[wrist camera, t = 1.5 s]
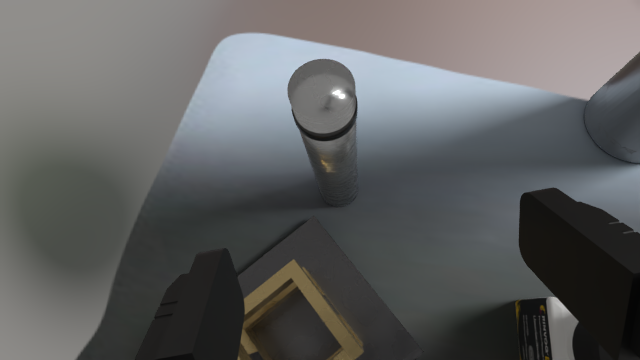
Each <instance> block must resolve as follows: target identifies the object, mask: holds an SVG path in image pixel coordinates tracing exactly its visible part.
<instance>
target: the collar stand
mask: <svg viewBox="0 0 640 360" xmlns="http://www.w3.org/2000/svg"><path fill="white" fill-rule="evenodd" d="M237 278H238V281H239V284H240V287H241V290H242V293H243V298H244V305H245V316H244V323H243V329H242V335H241V341H240V347H239V354H238V360H415V359H416V358H417V357H419V356H420V355H421V354H422V353H423V352H424V351H423V350H422V349H421V348H420V346H419V345H418V344H417V343H416V342H415V340H414V339H413V338H412V337H411V335H410V334H409V333H408V332H407V330H406V329H405V328H404V327H403V325H402V324H401V323H400V322H399V320H398V319H397V318H396V317H395V316H394V314H393V313H392V312H391V311H390V309H389V308H388V307H387V306H386V304H385V303H384V302H383V301H382V299H381V298H380V297H379V296H378V295H377V293H376V292H375V291H374V290H373V288H372V287H371V286H370V285H369V283H368V282H367V281H366V280H365V278H364V277H363V276H362V275H361V273H360V272H359V271H358V270H357V269H356V267H355V266H354V265H353V264H352V262H351V261H350V260H349V259H348V257H347V256H346V255H345V254H344V252H343V251H342V250H341V249H340V248H339V246H338V245H337V244H336V243H335V241H334V240H333V239H332V238H331V236H330V235H329V234H328V233H327V231H326V230H325V229H324V228H323V226H322V225H321V224H320V223H319V222H318V220H317V219H316V218H315V217H314V216H313V217H312V218H310V219H309V220H308V221H307V222H305V223H304V224H303V225H302V226H300V227H299V228H298V229H297V230H295V231H294V232H293V233H292V234H290V235H289V236H288V237H286V238H285V239H284V240H283V241H281V242H280V243H279V244H278V245H276V246H275V247H274V248H273V249H271V250H270V251H269V252H268V253H266V254H265V255H264V256H262V257H261V258H260V259H259V260H257V261H256V262H255V263H254V264H252V265H251V266H250V267H249V268H247V269H246V270H245V271H244V272H242V273H241V274H240V275H238V276H237Z"/></svg>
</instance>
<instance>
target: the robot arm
mask: <svg viewBox="0 0 640 360" xmlns="http://www.w3.org/2000/svg"><path fill="white" fill-rule="evenodd" d="M584 118H585V125H586V128H587V130H588V132H589V134H590V136H591V137H592V139H593V140H594V142H595V143H596V144H597V145H598V146H599V147H600V148H601V149H603V150H604V151H606V152H607V153H608V154H610V155H612V156H614V157H616V158H618V159H621V160H624V161H628V162H633V163H640V52H639V53H638V54H637V55H636V56H635V57H634V58H633V59H632V60H630V61H629V62H628V63H627V64H626V65H625V66H624V67H623V68H622V69H621V70H620V71H619V72H617V73H616V74H615V75H614V76H613V77H612V78H611V79H610V80H609V81H608V82H607V83H606V84H604V85H603V86H602V87H601V88H600V89H599V90H598V91H597V92H596V93H595V94H594V95H593V96H592V97H591V98H590V100H589V101H588V103H587V106H586V108H585V115H584ZM519 248H520V252H521V255H522V258H523V260H524V261H525V263H526V264H527V266H528V267H529V268H530V269H531V270H532V271H533V272H534V273H535V275H536V276H537V277H538V278H539V279H540V280H541V281H542V282H543V283H544V284H545V285H546V286H547V288H548V289H549V290H550V291H551V292H552V293H553V294H554V295H555V296H556V297H557V298H558V300H559V301H560V302H561V303H562V304H563V305H564V306H565V307H566V308H567V309H568V310H569V312H570V313H571V314H572V315H573V316H574V317H575V318H576V319H577V320H578V321H579V322H580V324H581V325H582V326H583V327H584V328H585V329H586V330H587V331H588V332H589V333H590V334H591V336H592V337H593V338H594V339H595V340H596V341H597V342H598V343H599V344H600V345H601V346H602V348H603V349H604V350H605V351H606V352H607V353H608V354H609V355H610V356H611V357H612V358H613V360H640V234H639V233H638V232H634V231H633V229H632V228H630V227H629V226H627V225H625V224H624V223H620V222H619V220H618V219H616V218H615V217H613V216H611V215H610V214H608V213H607V212H605V211H604V210H602V209H599V208H596V207H594V206H591V205H588V204H585V203H582V202H576V201H575V200H573V199H572V198H570V197H569V196H567V195H566V194H564V193H563V192H561V191H560V190H559V189H557V188H548V189H542V190H537V191H532V192H526V193H524V194H523V195H522V196H521V199H520V219H519ZM244 316H245V305H244V298H243V293H242V290H241V287H240V284H239V281H238V278H237V275H236V271H235V268H234V265H233V262H232V259H231V256H230V253H229V251H228V250H227V249H226V248H222V249H217V250H211V251H206V252H200V253H198V254H197V255H196V257H195V260H194V262H193V265H192V267H191V270H190V272H189V273H188V274H183V275H180V276H179V277H178V278H177V279H176V280H175V281H174V282H173V283H172V285H171V286H170V287H169V288H168V289H167V290H166V293H165V295H164V297H163V299H162V301H161V304H160V307H159V308H158V310H157V312H156V314H155V320H153V321H152V323H151V325H150V328H149V330H148V332H147V334H146V336H145V339H144V341H143V343H142V345H141V347H140V349H139V352H138V354H137V356H136V358H135V360H238V354H239V347H240V341H241V335H242V329H243V323H244Z"/></svg>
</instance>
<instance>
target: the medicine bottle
mask: <svg viewBox="0 0 640 360" xmlns="http://www.w3.org/2000/svg"><path fill="white" fill-rule="evenodd" d="M515 305H516V317H517V329H518V341H519V353H520V360H613V358H612V357H611V356H610V355H609V354H608V353H607V352H606V351H605V350H604V349H603V348H602V346H601V345H600V344H599V343H598V342H597V341H596V340H595V339H594V338H593V337H592V336H591V334H590V333H589V332H588V331H587V330H586V329H585V328H584V327H583V326H582V325H581V324H580V322H579V321H578V320H577V319H576V318H575V317H574V316H573V315H572V314H571V313H570V312H569V310H568V309H567V308H566V307H565V306H564V305H563V304H562V303H561V302H560V301H559V300H558V298H557V297H544V298H531V299H519V300H517V301H516V303H515Z"/></svg>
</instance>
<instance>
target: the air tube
mask: <svg viewBox="0 0 640 360" xmlns="http://www.w3.org/2000/svg"><path fill="white" fill-rule="evenodd" d="M288 97H289V100H290V103H291V106H292V114H293V117H294V120H295V123H296V125H297V127H298V129H299V130H300V133H301V136H302V139H303V142H304V145H305V148H306V151H307V154H308V157H309V160H310V163H311V165H312V168H313V171H314V174H315V177H316V180H317V183H318V186H319V189H320V192H321V195H322V197H323V199H324V200H325V201H326V202H327V203H328V204H330V205H332V206H335V207H343V206H346V205H348V204H350V203H351V202H352V201H353V200H354V199H355V198H356V195H357V192H358V174H357V135H356V118H357V98H356V95H355V81H354V78H353V75H352V74H351V72H350V71H349V70H348V68H346V67H345V66H344V65H343V64H341V63H339V62H337V61H334V60H330V59H317V60H313V61H310V62H307V63H305V64H303V65H302V66H300V67H299V68H298V69H297V70H296V71H295V72H294V73H293V75H292V76H291V78H290V81H289V84H288Z"/></svg>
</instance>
